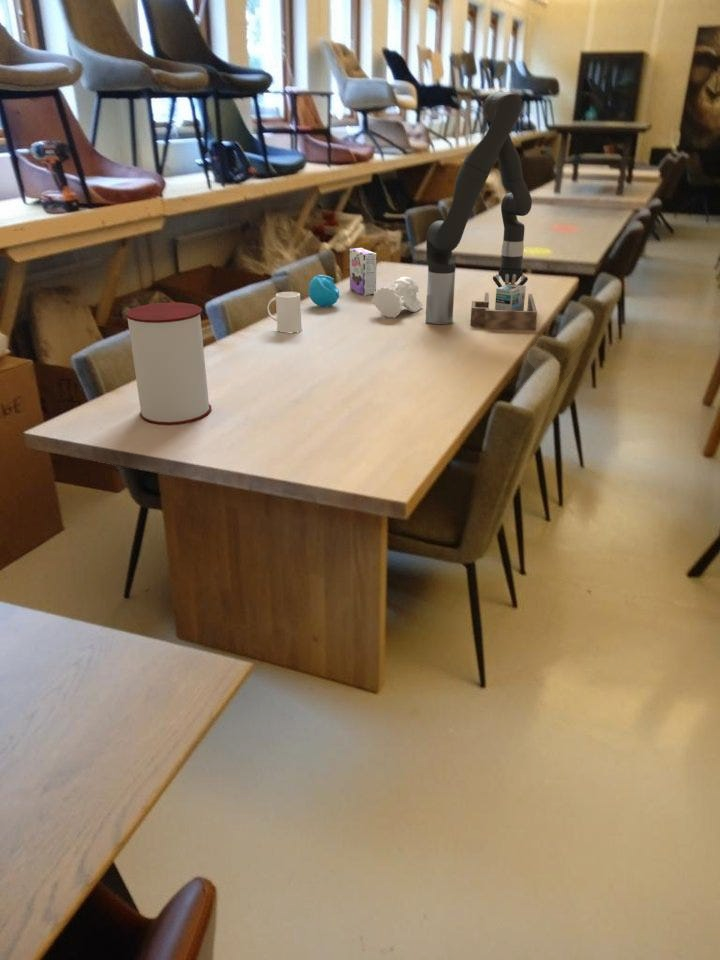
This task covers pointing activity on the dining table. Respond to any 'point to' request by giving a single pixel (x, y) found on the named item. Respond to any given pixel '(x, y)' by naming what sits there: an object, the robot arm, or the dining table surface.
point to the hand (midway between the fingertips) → (508, 302)
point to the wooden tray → (503, 316)
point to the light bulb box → (510, 297)
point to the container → (169, 362)
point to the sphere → (323, 291)
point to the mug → (287, 311)
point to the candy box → (363, 271)
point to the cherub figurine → (397, 297)
